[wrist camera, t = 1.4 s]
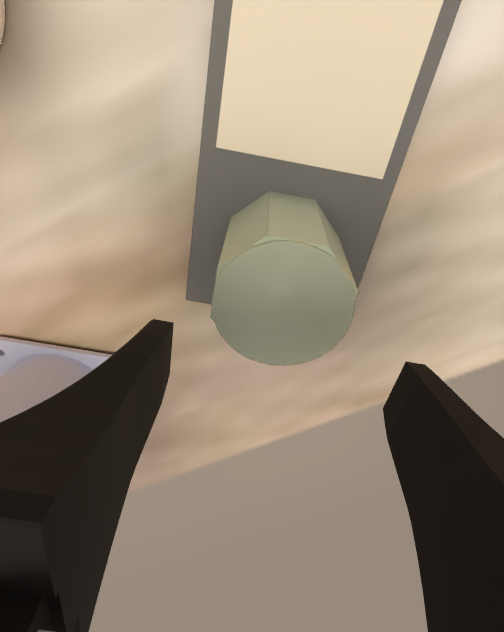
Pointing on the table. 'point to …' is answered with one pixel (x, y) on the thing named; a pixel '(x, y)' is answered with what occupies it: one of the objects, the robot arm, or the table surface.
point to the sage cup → (282, 282)
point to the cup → (2, 18)
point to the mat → (311, 113)
